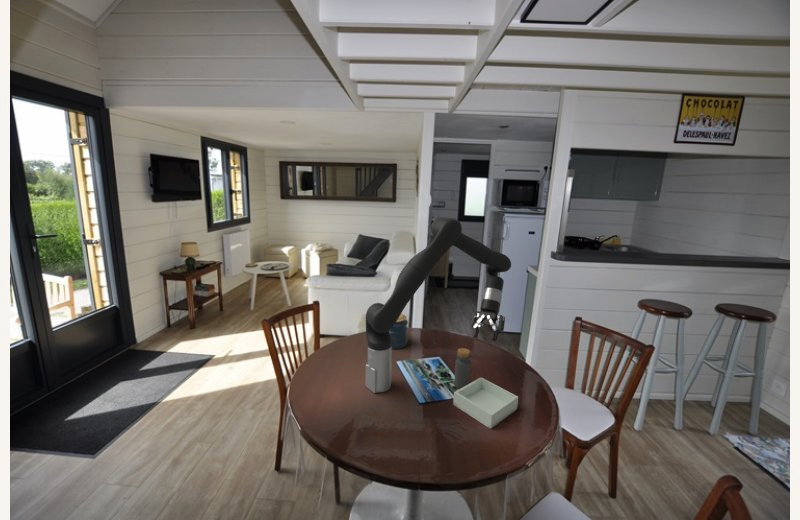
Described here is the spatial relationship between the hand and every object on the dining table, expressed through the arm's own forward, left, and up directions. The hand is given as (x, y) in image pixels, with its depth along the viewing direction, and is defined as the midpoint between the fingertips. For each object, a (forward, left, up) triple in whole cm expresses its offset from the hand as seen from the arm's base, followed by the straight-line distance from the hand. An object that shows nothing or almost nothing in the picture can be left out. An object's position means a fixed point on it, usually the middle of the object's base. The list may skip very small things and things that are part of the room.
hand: (484, 339), depth 133 cm
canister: (-8, +47, -18) cm, 51 cm away
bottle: (-10, +2, -18) cm, 21 cm away
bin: (-14, -12, -18) cm, 25 cm away
